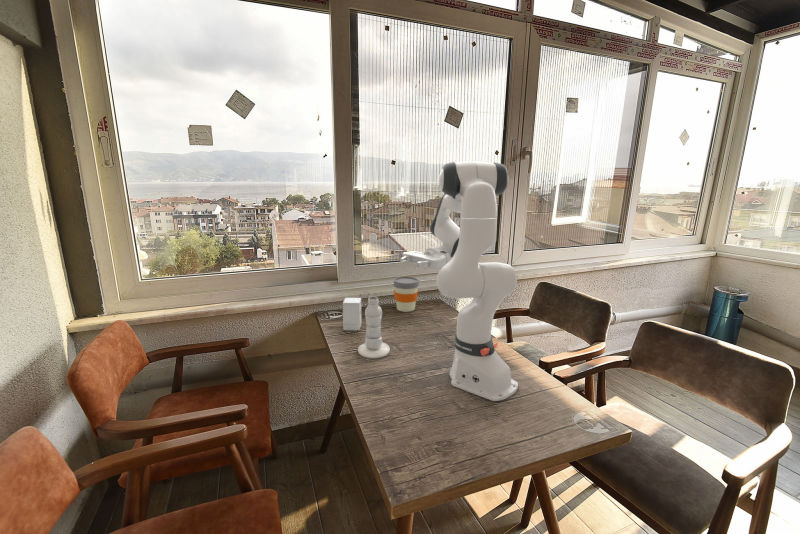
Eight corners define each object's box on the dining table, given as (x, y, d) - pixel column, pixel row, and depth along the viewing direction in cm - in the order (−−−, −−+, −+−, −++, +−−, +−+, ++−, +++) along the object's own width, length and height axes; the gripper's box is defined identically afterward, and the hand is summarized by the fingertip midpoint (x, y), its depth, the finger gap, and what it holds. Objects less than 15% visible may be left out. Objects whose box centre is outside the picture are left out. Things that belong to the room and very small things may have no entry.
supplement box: (359, 330, 161) (359, 303, 158) (342, 330, 161) (342, 302, 158) (362, 324, 168) (361, 297, 165) (345, 323, 168) (344, 297, 165)
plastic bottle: (365, 344, 146) (364, 295, 141) (382, 344, 146) (382, 295, 141) (364, 351, 140) (363, 301, 135) (382, 351, 140) (382, 301, 135)
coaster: (396, 351, 142) (396, 349, 142) (371, 361, 134) (371, 358, 134) (376, 341, 151) (376, 338, 151) (352, 350, 143) (351, 347, 143)
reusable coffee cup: (396, 313, 181) (396, 284, 177) (391, 305, 193) (391, 277, 189) (421, 311, 184) (422, 282, 180) (414, 303, 196) (414, 276, 192)
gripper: (416, 246, 163) (392, 250, 154) (452, 254, 148) (428, 259, 139) (415, 260, 164) (392, 265, 155) (451, 269, 149) (427, 275, 140)
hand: (409, 262), depth 147 cm, fingers open, 8 cm apart
